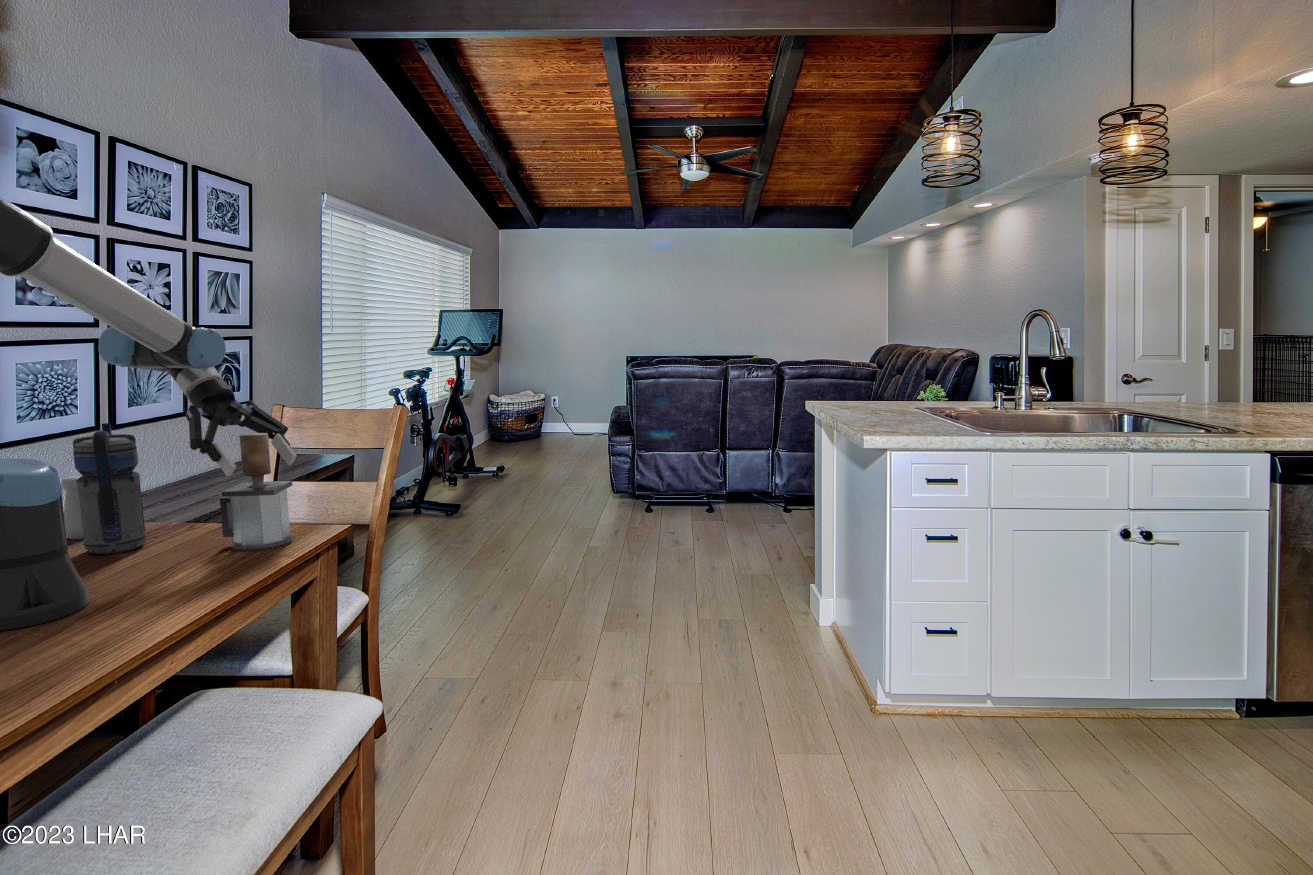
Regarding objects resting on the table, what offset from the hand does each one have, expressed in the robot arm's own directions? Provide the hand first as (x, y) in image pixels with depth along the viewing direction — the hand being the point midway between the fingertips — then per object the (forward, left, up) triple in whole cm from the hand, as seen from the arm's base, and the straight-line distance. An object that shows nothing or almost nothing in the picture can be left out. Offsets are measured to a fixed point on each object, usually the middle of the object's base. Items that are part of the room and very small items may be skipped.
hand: (263, 466), depth 147 cm
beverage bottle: (-30, +1, -16) cm, 34 cm away
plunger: (-2, +1, -10) cm, 10 cm away
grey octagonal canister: (-2, +1, -16) cm, 16 cm away
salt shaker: (-44, +13, -16) cm, 49 cm away
